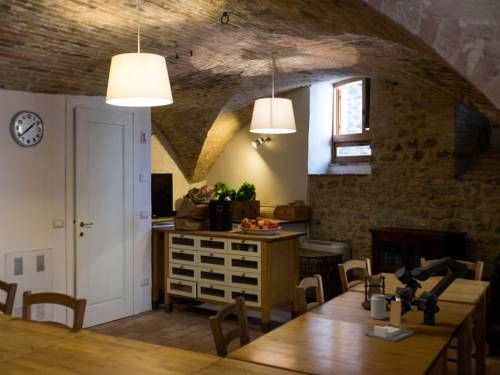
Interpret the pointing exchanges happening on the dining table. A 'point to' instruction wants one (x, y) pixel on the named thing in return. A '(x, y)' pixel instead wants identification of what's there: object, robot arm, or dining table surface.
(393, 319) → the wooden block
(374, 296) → the can
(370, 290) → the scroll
